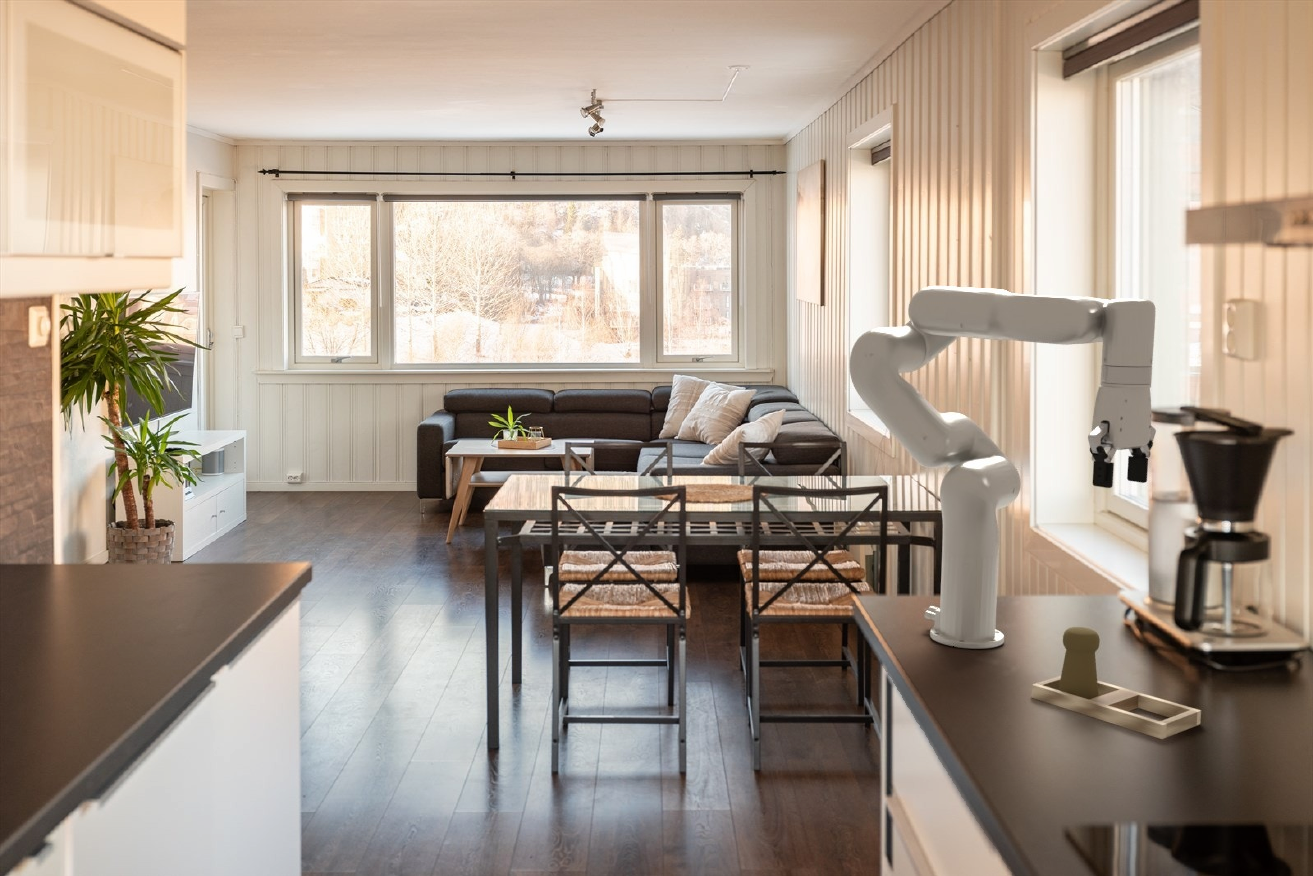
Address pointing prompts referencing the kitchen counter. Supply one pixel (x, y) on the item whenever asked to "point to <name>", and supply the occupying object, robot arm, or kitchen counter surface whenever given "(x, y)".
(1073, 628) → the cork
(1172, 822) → the kitchen counter surface
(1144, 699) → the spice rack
